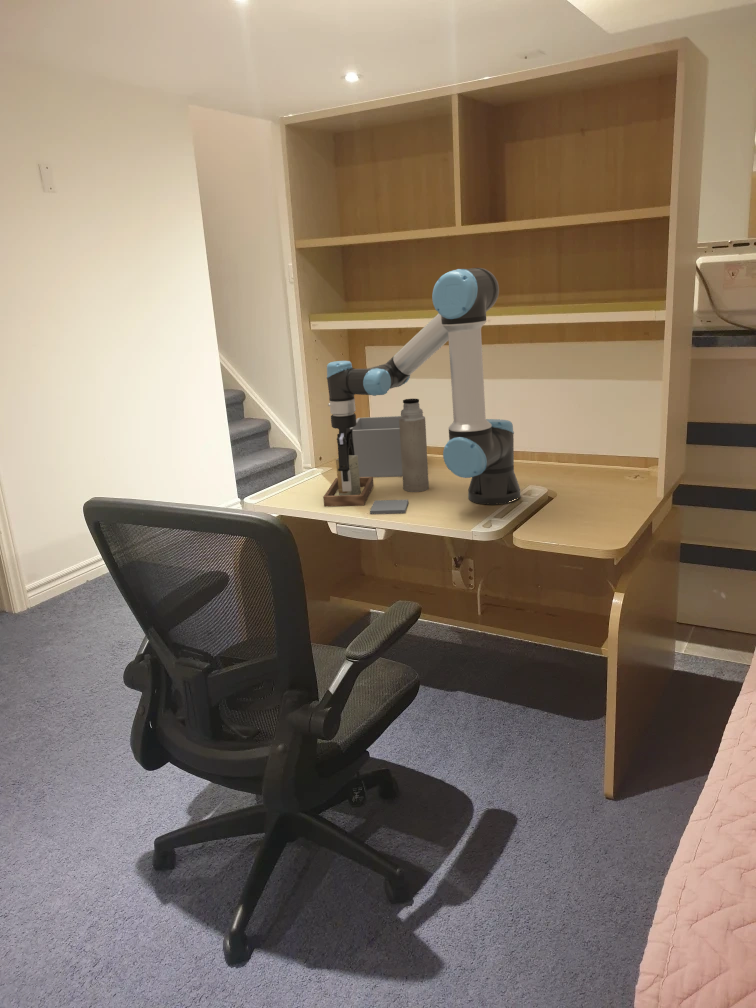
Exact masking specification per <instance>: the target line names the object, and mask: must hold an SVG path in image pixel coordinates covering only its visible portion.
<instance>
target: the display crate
mask: <svg viewBox="0 0 756 1008" xmlns="http://www.w3.org/2000/svg"><path fill="white" fill-rule="evenodd" d="M399 418H401V415H395V416H392V415H391V416H369V417H356V426H354V427H352V428H350V429H352V430H353V431H352V434H353V444H354V454H355V455H356V456H358V467H359V477H373V478H387V477H403V476H402V460H401V444H400V428H399Z"/></svg>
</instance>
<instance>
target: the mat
mask: <svg viewBox="0 0 756 1008" xmlns="http://www.w3.org/2000/svg"><path fill="white" fill-rule="evenodd" d="M408 505H409V499H385V500H384V499H383V500H380V499H379V500H378V499H377V500H376V499H375V500H374V501H373V503H372V505H371V508H370V510H369V514H370V515H388V514H389V515H391V514H393V515H395V514H400V515H401V514H406V512H407V509H408Z"/></svg>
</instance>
